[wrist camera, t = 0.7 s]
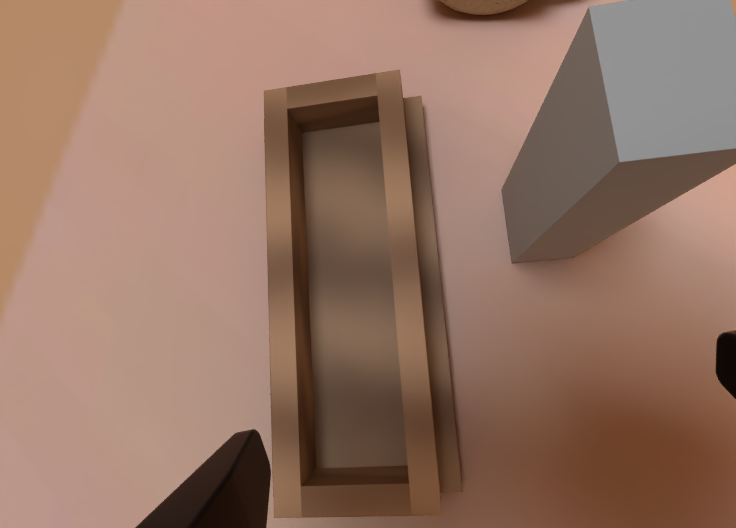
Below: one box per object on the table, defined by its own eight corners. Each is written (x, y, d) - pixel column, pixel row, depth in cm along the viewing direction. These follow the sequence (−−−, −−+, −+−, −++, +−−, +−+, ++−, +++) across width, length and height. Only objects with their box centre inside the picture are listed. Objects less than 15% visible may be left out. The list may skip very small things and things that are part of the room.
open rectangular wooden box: (460, 484, 20) (467, 514, 16) (280, 489, 21) (251, 518, 18) (421, 106, 24) (420, 66, 20) (270, 127, 25) (245, 93, 21)
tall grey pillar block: (572, 257, 21) (769, 144, 9) (511, 263, 21) (619, 161, 9) (560, 182, 22) (726, -17, 10) (501, 189, 22) (588, 7, 10)
